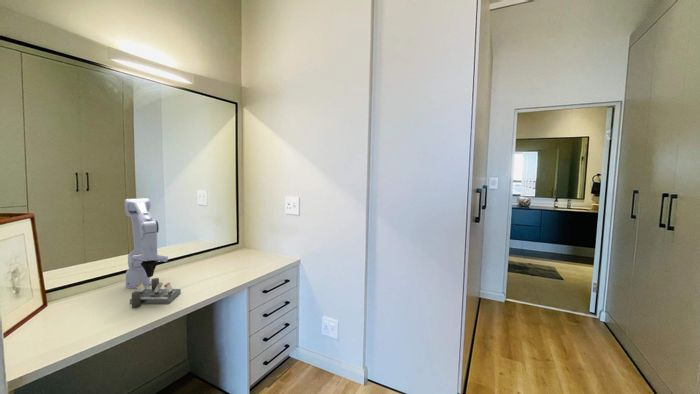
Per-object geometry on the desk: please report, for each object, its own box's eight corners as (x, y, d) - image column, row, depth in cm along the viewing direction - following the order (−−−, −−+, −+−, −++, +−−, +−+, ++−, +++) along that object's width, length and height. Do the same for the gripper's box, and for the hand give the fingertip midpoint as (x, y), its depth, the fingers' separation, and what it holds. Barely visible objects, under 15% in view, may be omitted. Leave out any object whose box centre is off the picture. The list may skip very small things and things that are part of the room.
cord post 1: (130, 307, 123) (129, 294, 122) (134, 304, 126) (134, 291, 125) (137, 307, 123) (137, 294, 123) (142, 304, 126) (141, 291, 125)
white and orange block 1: (139, 294, 130) (135, 285, 129) (143, 291, 133) (139, 283, 132) (142, 293, 130) (138, 284, 129) (145, 290, 133) (141, 282, 132)
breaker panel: (130, 303, 126) (129, 298, 126) (145, 293, 137) (144, 287, 137) (168, 303, 128) (168, 298, 128) (180, 293, 139) (180, 287, 138)
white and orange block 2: (152, 293, 131) (157, 284, 130) (156, 290, 133) (160, 282, 133) (155, 294, 131) (159, 286, 131) (158, 291, 134) (163, 283, 133)
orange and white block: (167, 294, 131) (163, 285, 131) (170, 291, 134) (167, 283, 134) (170, 293, 131) (166, 284, 131) (173, 290, 134) (169, 282, 134)
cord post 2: (150, 292, 138) (149, 280, 137) (154, 289, 141) (153, 278, 140) (156, 292, 138) (156, 280, 137) (160, 289, 141) (160, 278, 140)
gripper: (126, 249, 125) (127, 279, 126) (161, 250, 127) (162, 279, 128) (136, 245, 132) (137, 273, 133) (170, 245, 133) (170, 274, 135)
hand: (150, 276), depth 131 cm, fingers closed
